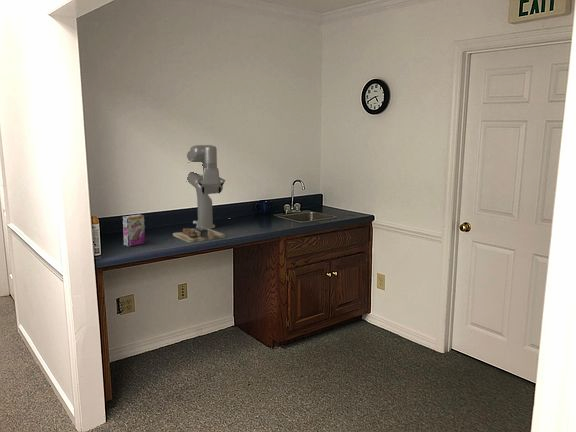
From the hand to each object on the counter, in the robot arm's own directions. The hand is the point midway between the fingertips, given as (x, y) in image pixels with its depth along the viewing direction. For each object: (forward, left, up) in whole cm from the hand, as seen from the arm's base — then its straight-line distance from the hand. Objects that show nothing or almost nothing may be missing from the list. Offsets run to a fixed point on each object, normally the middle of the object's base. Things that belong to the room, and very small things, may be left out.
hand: (211, 193), depth 308 cm
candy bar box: (-25, -46, -24) cm, 58 cm away
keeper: (+4, -21, -23) cm, 31 cm away
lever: (-4, -21, -22) cm, 31 cm away
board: (-1, -16, -24) cm, 29 cm away
